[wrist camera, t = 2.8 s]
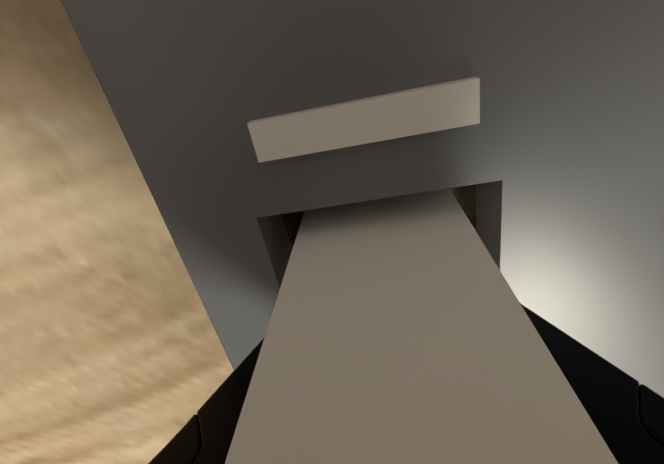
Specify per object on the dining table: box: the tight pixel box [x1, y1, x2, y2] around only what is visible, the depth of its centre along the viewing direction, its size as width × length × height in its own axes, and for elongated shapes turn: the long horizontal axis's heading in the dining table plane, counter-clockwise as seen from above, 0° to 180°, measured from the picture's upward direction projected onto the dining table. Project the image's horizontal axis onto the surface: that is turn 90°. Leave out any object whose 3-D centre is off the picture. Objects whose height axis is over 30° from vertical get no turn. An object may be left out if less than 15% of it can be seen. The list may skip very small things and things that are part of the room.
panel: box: [61, 0, 664, 398], centre depth 9 cm, size 20×16×2 cm
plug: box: [225, 188, 618, 464], centre depth 7 cm, size 4×5×9 cm
